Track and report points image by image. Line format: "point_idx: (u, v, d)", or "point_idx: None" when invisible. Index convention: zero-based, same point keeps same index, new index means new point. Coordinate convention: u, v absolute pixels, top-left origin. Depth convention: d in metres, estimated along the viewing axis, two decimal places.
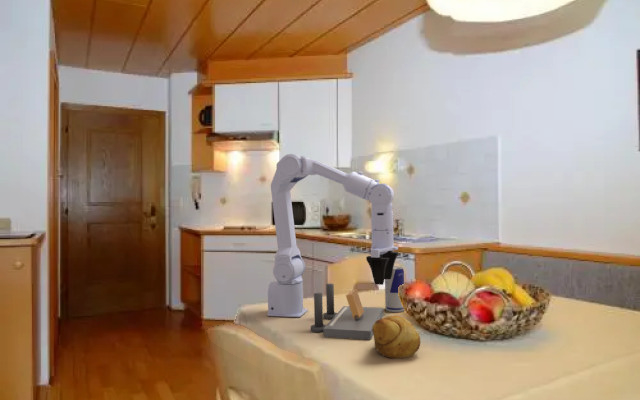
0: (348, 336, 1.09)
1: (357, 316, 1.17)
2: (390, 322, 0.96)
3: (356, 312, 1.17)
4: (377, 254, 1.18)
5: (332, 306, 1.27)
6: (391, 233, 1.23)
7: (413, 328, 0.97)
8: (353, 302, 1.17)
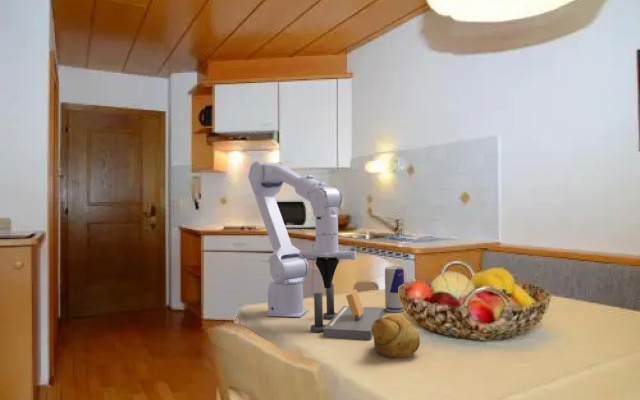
0: (348, 336, 1.09)
1: (357, 316, 1.17)
2: (389, 322, 0.96)
3: (356, 312, 1.17)
4: None
5: (332, 306, 1.27)
6: (320, 238, 1.19)
7: (412, 328, 0.97)
8: (353, 302, 1.17)
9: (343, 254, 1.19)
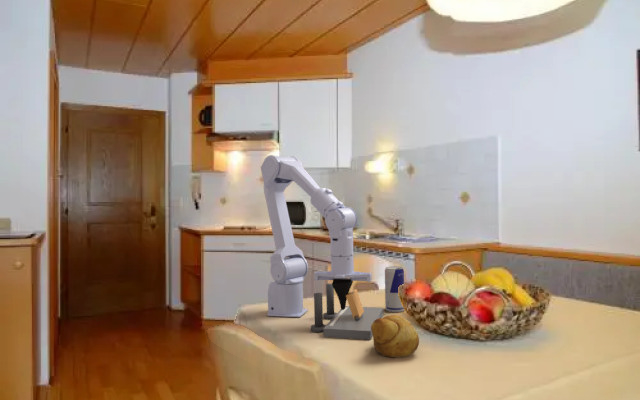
0: (348, 336, 1.09)
1: (357, 316, 1.17)
2: (388, 321, 0.96)
3: (356, 312, 1.17)
4: (314, 277, 1.22)
5: (332, 306, 1.27)
6: (336, 260, 1.18)
7: (412, 328, 0.98)
8: (353, 302, 1.17)
9: (359, 276, 1.18)
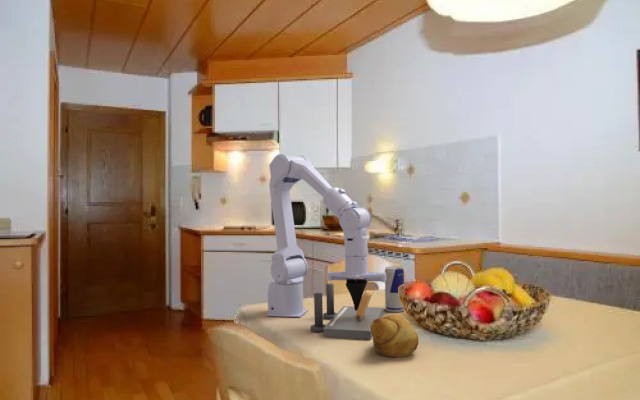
0: (348, 336, 1.09)
1: (359, 317, 1.17)
2: (388, 321, 0.97)
3: (361, 313, 1.17)
4: None
5: (332, 306, 1.27)
6: (350, 260, 1.17)
7: (411, 327, 0.98)
8: (365, 304, 1.16)
9: (373, 276, 1.17)
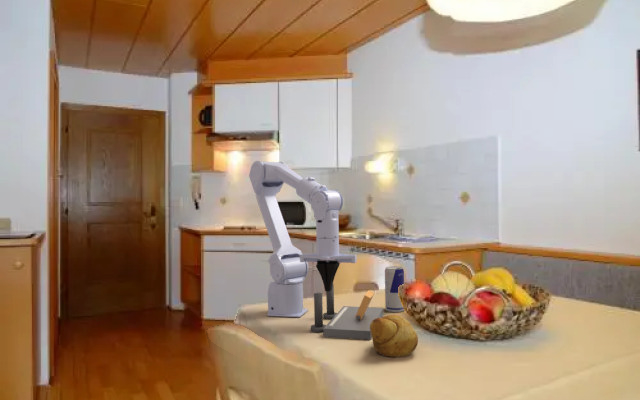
0: (348, 336, 1.09)
1: (359, 317, 1.17)
2: (387, 321, 0.97)
3: (361, 314, 1.17)
4: None
5: (332, 306, 1.27)
6: (321, 241, 1.19)
7: (410, 327, 0.98)
8: (366, 305, 1.16)
9: (344, 257, 1.19)
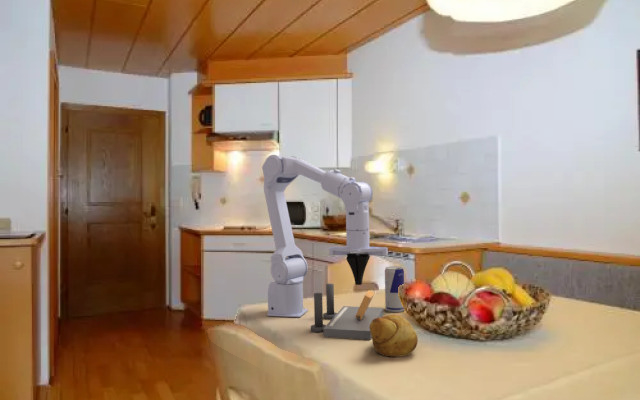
0: (348, 336, 1.09)
1: (359, 317, 1.17)
2: (387, 321, 0.97)
3: (361, 314, 1.17)
4: (329, 252, 1.21)
5: (332, 306, 1.27)
6: (352, 234, 1.17)
7: (410, 327, 0.98)
8: (366, 305, 1.16)
9: (375, 250, 1.17)
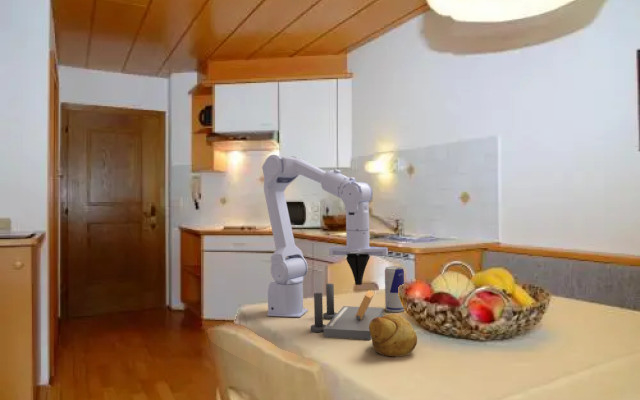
0: (348, 336, 1.09)
1: (359, 317, 1.17)
2: (386, 321, 0.97)
3: (361, 314, 1.17)
4: (329, 252, 1.21)
5: (332, 306, 1.27)
6: (352, 234, 1.17)
7: (410, 327, 0.98)
8: (366, 305, 1.16)
9: (375, 250, 1.17)
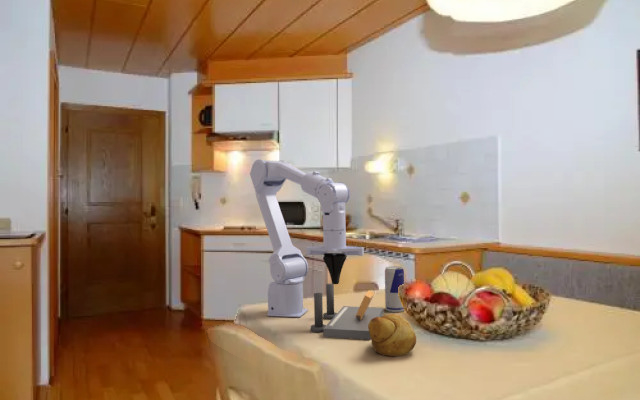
0: (348, 336, 1.09)
1: (359, 317, 1.17)
2: (385, 320, 0.97)
3: (361, 314, 1.17)
4: None
5: (332, 306, 1.27)
6: (328, 234, 1.19)
7: (409, 327, 0.98)
8: (366, 305, 1.16)
9: (351, 250, 1.18)
